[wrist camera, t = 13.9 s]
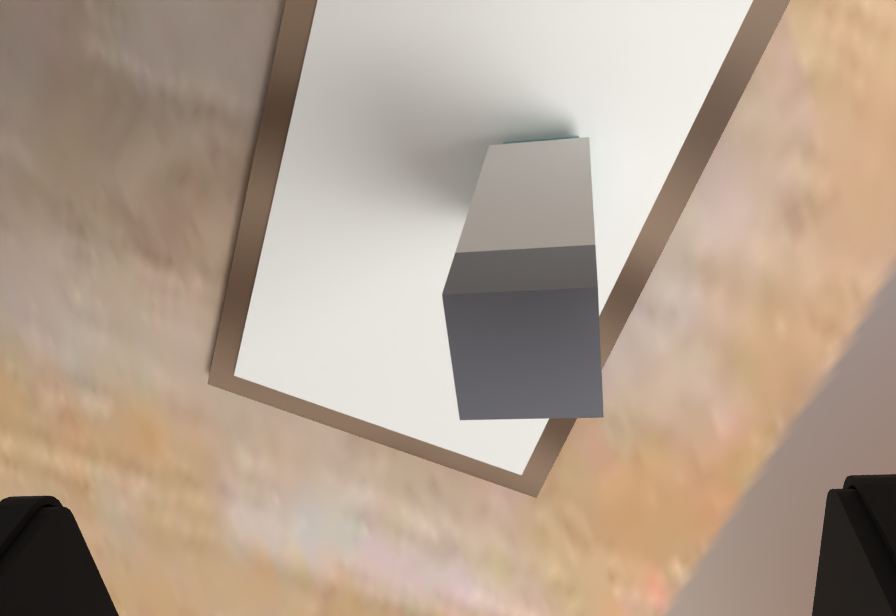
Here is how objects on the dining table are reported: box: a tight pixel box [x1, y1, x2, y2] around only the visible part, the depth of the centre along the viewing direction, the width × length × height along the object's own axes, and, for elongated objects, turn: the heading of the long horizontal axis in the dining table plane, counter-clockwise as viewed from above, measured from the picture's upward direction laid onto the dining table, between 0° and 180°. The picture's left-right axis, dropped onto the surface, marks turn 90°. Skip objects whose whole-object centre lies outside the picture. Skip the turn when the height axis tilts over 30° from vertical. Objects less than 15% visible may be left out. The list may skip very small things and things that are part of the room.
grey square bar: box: [442, 136, 603, 420], centre depth 21 cm, size 3×3×11 cm
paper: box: [234, 0, 753, 475], centre depth 27 cm, size 20×12×1 cm, turn 162°
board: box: [208, 0, 790, 498], centre depth 27 cm, size 22×14×1 cm, turn 162°
